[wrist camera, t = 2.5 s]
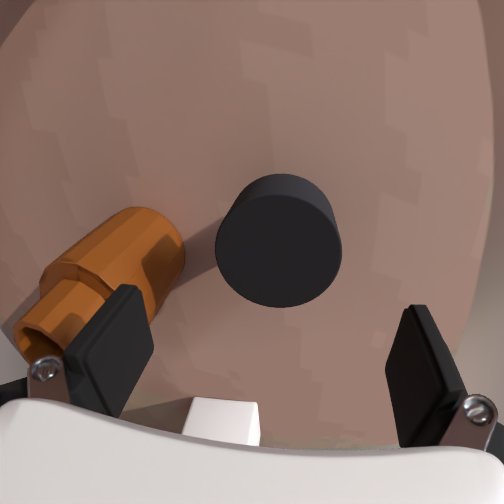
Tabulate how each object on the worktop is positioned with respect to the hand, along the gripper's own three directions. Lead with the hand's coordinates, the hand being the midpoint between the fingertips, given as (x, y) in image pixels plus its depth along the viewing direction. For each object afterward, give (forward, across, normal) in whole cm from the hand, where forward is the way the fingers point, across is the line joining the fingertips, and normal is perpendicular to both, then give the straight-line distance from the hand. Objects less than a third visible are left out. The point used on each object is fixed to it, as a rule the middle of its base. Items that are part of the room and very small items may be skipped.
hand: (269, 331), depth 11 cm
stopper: (+12, 0, -1) cm, 12 cm away
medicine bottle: (+13, +5, +24) cm, 28 cm away
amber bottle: (+12, +11, +3) cm, 17 cm away
